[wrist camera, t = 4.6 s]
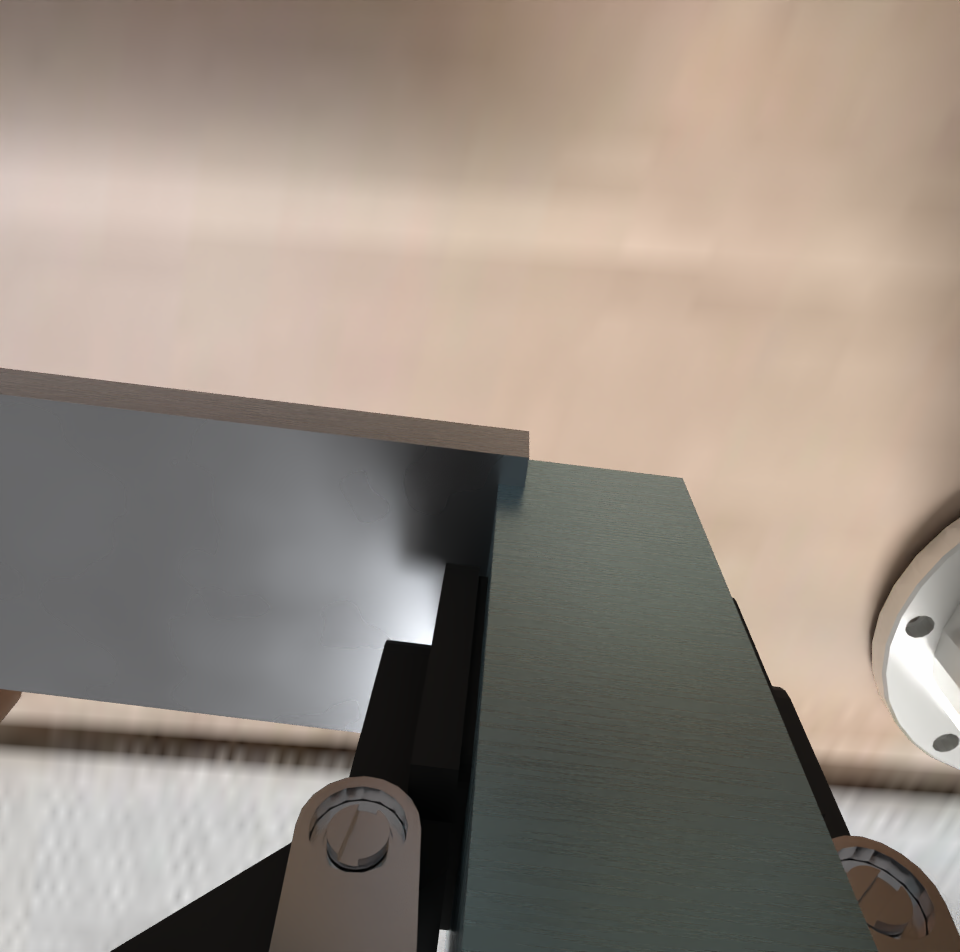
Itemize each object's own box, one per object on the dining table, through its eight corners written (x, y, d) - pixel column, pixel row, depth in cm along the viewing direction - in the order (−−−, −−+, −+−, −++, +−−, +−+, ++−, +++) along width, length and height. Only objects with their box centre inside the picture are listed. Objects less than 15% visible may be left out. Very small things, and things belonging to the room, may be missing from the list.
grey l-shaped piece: (690, 451, 12) (1023, 1166, 4) (619, 724, 15) (729, 1480, 7) (-355, 325, 12) (-2144, 773, 4) (-233, 621, 15) (-1148, 1242, 7)
